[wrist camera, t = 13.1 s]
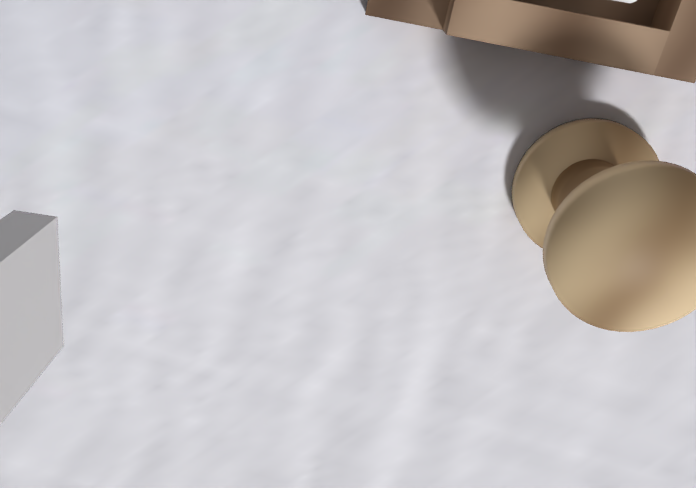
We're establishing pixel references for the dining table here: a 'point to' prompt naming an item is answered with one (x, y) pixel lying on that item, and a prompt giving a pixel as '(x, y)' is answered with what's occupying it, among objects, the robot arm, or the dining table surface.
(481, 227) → the dining table surface
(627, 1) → the medicine bottle
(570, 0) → the notched board
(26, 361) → the robot arm
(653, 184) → the bobbin
